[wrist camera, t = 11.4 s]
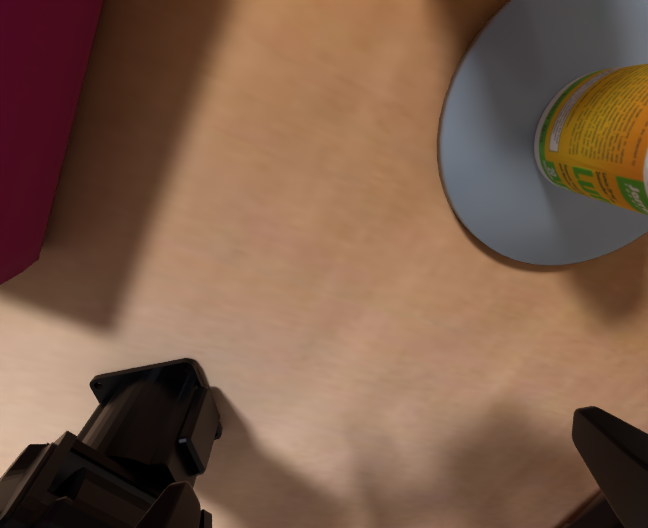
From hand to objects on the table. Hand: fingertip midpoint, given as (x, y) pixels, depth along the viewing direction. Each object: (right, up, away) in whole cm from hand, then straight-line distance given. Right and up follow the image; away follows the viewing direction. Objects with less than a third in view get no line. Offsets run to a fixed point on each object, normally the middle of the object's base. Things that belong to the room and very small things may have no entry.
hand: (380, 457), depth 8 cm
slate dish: (+11, +11, +10) cm, 19 cm away
